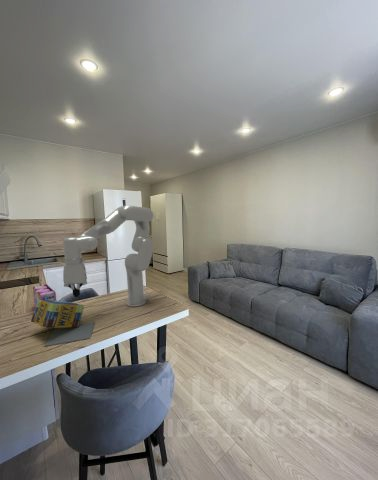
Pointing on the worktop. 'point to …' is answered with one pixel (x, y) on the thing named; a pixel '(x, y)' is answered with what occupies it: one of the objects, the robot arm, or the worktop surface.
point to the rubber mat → (71, 334)
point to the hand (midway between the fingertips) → (76, 296)
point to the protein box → (57, 314)
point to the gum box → (43, 293)
